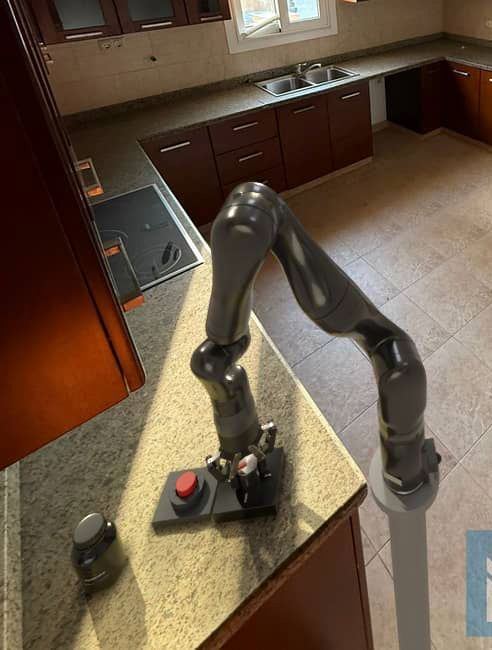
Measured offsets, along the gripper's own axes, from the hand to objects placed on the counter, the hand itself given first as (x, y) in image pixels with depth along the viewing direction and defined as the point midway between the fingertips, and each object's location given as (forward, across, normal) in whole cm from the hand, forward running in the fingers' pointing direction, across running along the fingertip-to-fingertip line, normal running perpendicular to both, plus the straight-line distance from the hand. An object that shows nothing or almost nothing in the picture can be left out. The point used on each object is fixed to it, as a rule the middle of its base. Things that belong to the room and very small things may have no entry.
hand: (249, 476), depth 88 cm
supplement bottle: (+4, -26, +2) cm, 26 cm away
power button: (0, -11, +6) cm, 13 cm away
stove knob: (0, 0, 0) cm, 0 cm away
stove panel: (+4, 0, 0) cm, 4 cm away
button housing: (+4, -11, +6) cm, 13 cm away
